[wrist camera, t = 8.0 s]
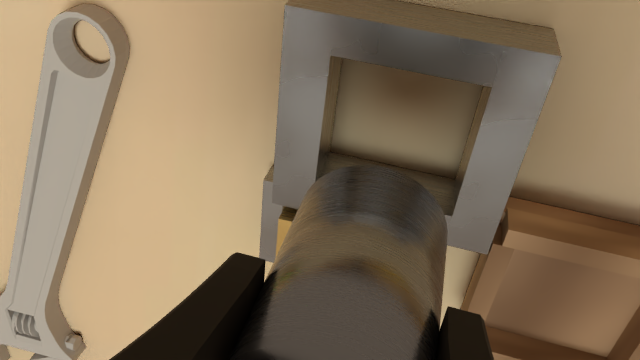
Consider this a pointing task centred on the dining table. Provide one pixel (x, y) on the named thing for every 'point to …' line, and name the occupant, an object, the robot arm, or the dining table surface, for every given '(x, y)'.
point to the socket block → (422, 57)
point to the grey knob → (354, 274)
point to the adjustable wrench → (59, 181)
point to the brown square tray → (559, 286)
